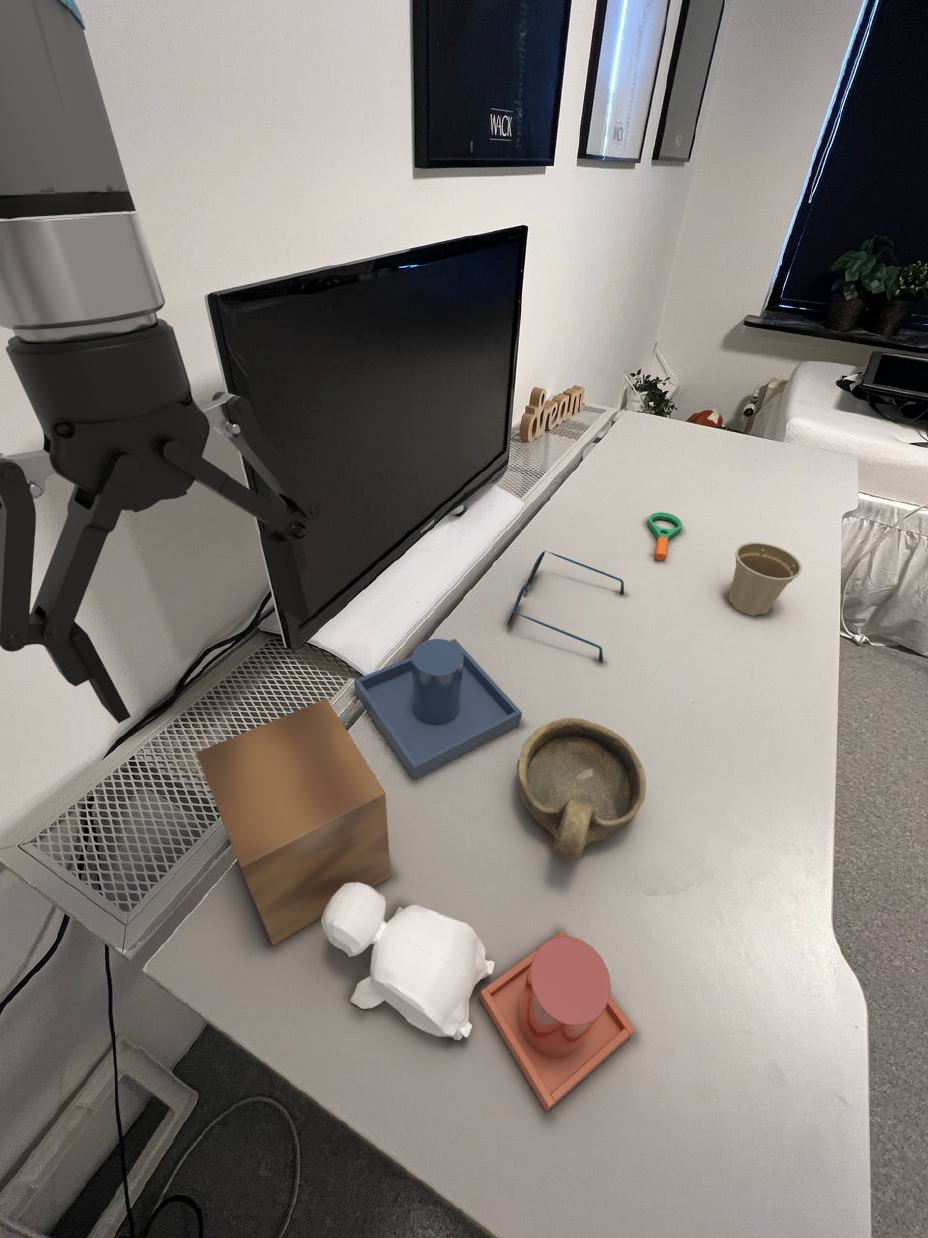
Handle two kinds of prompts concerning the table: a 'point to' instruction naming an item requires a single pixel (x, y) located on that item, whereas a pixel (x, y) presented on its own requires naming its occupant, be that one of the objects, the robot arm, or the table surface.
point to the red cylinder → (562, 996)
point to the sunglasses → (549, 625)
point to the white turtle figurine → (409, 958)
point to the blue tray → (435, 744)
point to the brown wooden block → (299, 814)
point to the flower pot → (761, 576)
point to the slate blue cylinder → (436, 681)
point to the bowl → (580, 783)
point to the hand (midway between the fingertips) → (214, 657)
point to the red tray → (541, 1071)
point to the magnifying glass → (663, 532)
